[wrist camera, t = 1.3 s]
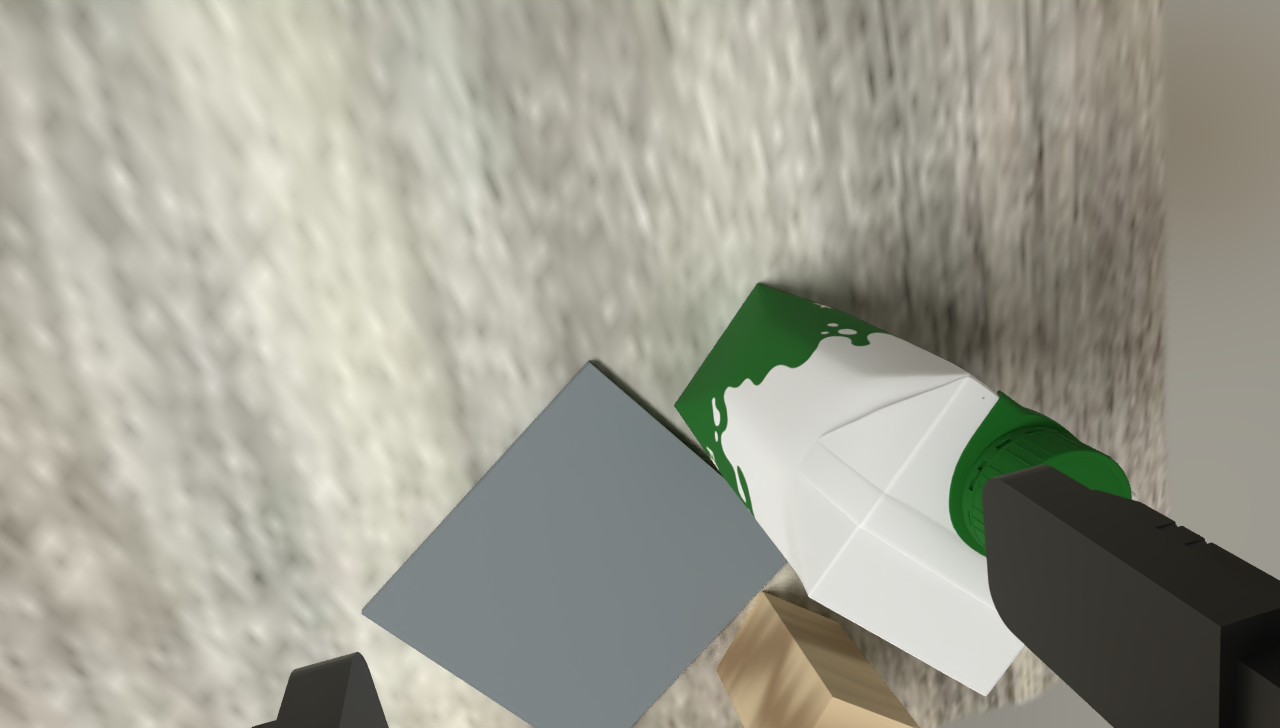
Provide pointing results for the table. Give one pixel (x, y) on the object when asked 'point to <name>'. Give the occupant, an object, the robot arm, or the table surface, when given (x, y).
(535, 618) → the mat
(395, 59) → the table surface
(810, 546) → the soya milk
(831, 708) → the oak block
